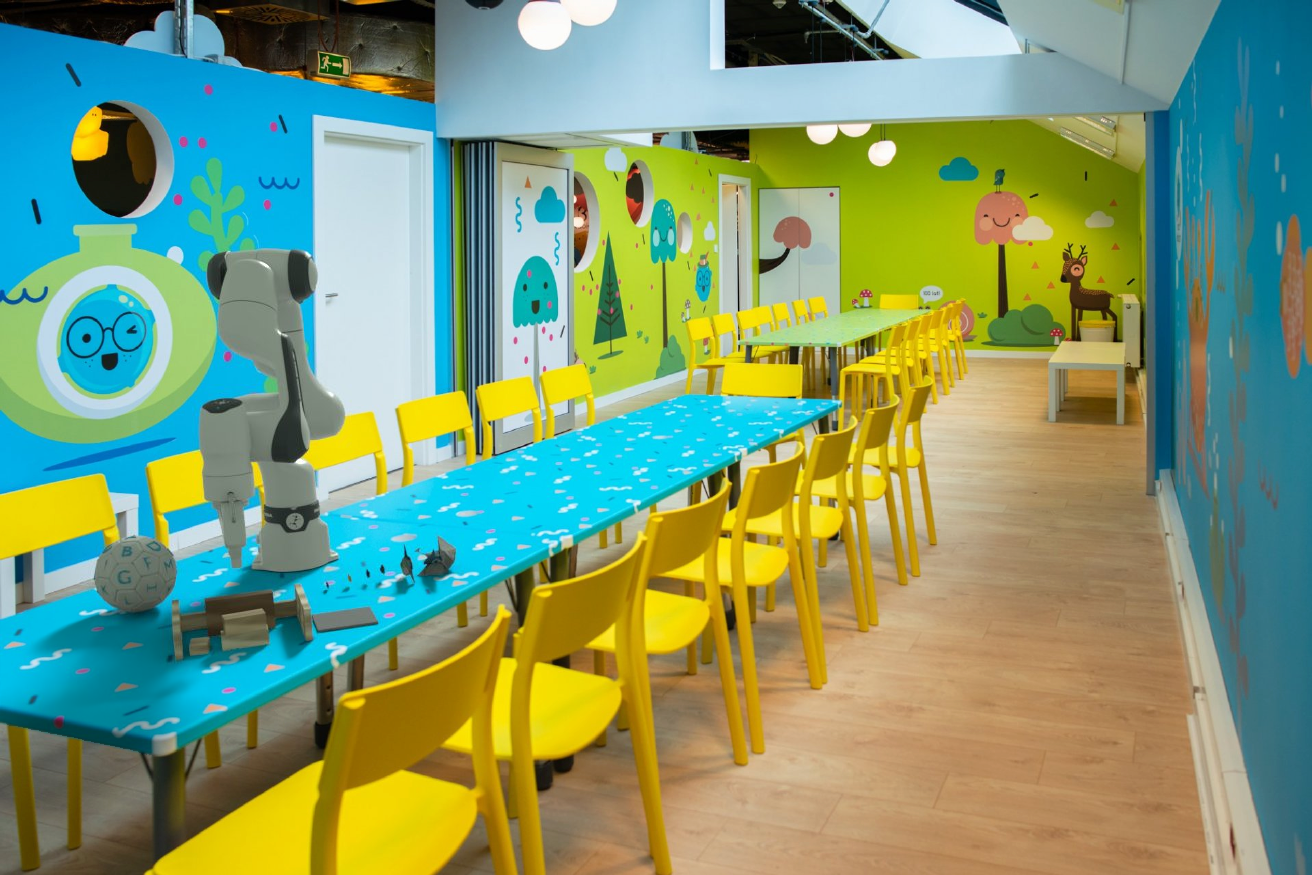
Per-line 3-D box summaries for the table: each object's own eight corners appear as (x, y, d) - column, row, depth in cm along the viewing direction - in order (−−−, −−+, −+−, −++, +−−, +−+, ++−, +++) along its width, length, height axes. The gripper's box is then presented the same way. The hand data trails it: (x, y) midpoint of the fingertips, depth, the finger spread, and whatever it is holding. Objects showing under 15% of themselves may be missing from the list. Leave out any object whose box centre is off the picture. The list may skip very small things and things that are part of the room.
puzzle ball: (188, 595, 237) (181, 525, 235) (169, 619, 222) (162, 544, 220) (111, 600, 235) (103, 529, 232) (86, 624, 220) (78, 549, 218)
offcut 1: (192, 649, 206) (191, 638, 206) (210, 647, 207) (209, 636, 207) (190, 656, 203) (189, 645, 202) (208, 654, 203) (207, 644, 203)
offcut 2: (223, 631, 207) (221, 615, 206) (263, 624, 210) (262, 608, 209) (226, 636, 204) (224, 619, 204) (266, 628, 207) (265, 612, 207)
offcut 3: (222, 646, 207) (220, 630, 207) (268, 639, 210) (267, 624, 210) (222, 652, 205) (221, 636, 204) (269, 644, 208) (268, 629, 207)
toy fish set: (457, 569, 242) (445, 529, 244) (340, 600, 230) (329, 559, 232) (444, 578, 251) (433, 540, 253) (331, 608, 239) (320, 568, 241)
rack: (174, 630, 216) (171, 599, 215) (302, 612, 225) (300, 583, 223) (175, 660, 200) (172, 627, 199) (313, 639, 209) (310, 608, 208)
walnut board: (207, 634, 214) (204, 598, 213) (274, 624, 218) (272, 589, 217) (208, 637, 212) (204, 601, 211) (276, 628, 216) (273, 592, 215)
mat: (312, 616, 222) (311, 614, 222) (369, 608, 226) (369, 606, 226) (318, 632, 213) (318, 630, 213) (378, 623, 217) (378, 621, 217)
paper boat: (444, 573, 245) (403, 562, 245) (444, 592, 249) (403, 580, 250) (464, 533, 253) (424, 521, 254) (463, 551, 258) (424, 540, 258)
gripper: (251, 496, 202) (257, 572, 204) (244, 477, 221) (249, 547, 223) (212, 500, 199) (219, 577, 202) (208, 480, 218) (215, 551, 220)
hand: (235, 561), depth 212 cm, fingers open, 8 cm apart
